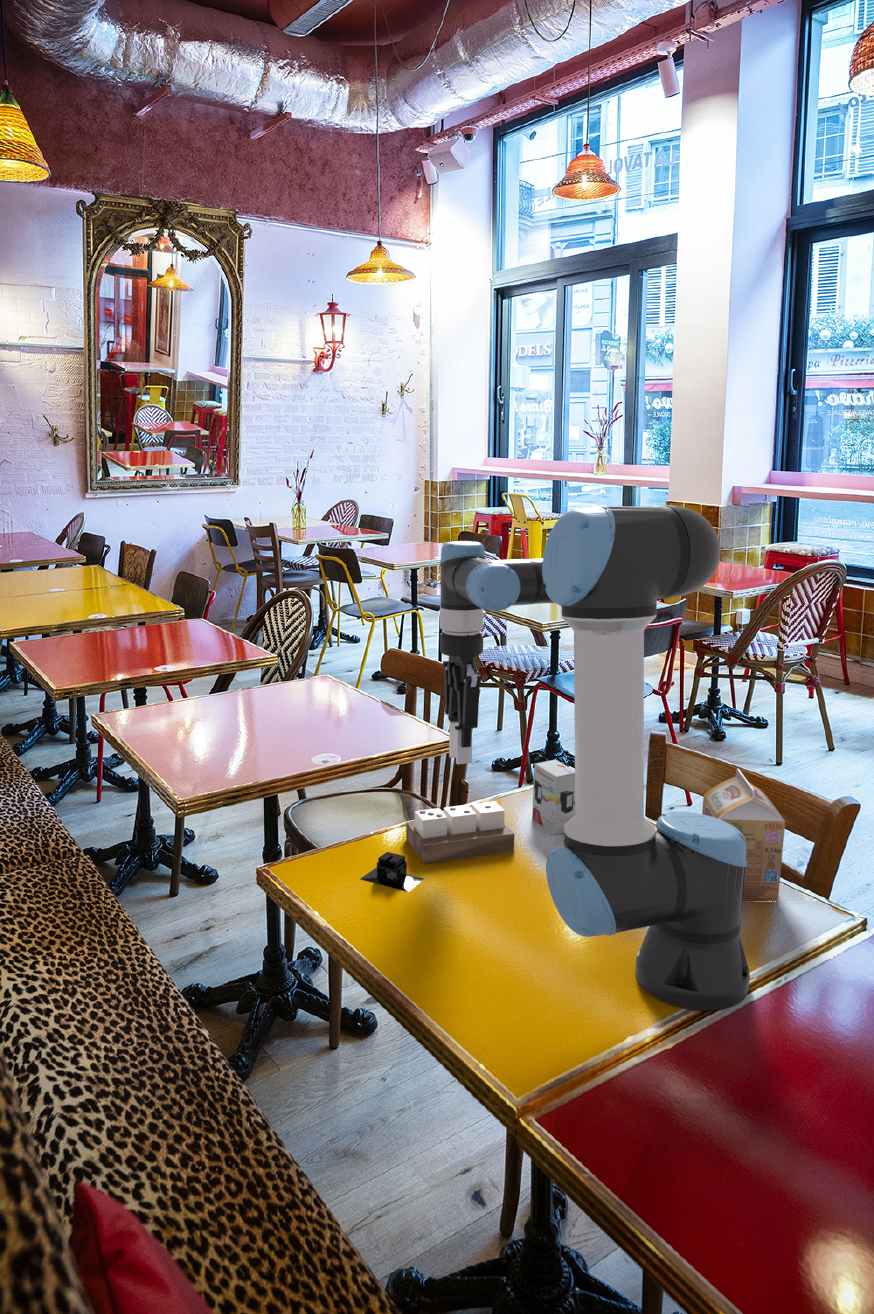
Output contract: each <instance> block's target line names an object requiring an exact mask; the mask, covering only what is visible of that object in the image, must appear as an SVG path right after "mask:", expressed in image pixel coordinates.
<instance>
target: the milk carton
mask: <svg viewBox="0 0 874 1314" xmlns="http://www.w3.org/2000/svg"><path fill="white" fill-rule="evenodd" d="M701 814H703V815H707V816H711V817H714V818H717V819H720V820H722V821H725V822H727V823H729V824H731V825H732V826H734V827H735V828H737V829H738V830H739V831H740V832H741V833H742V834H743V836H744V838H745V840H746V861H747V866H746V870H745V879H744V889H743V899H742V901H745V902H746V901H751V902H750V903H753V902H752V901H772V902H773V901H774V902H775V901H776V902H779V895H780V894H779V893H780V883H781V870H782V863H783V862H782V861H783V850H784V841H785V840H784V839H785V831H786V830H785V829H786V820H785V819H784V817H783V816H782V815H781V813H780V811H778V809H777V808H776V806H775V805H774V804H773V802H772V801H771V799H769V797H768V796H767V795H766V794H765V793H764V792H763V791H762V790H761V789H760V788H759V787H757V786H755V785H754V784H753V783H751V782H749V780H748V779H747V778H746V777H745V776H744V773H742V771H741V770H740V769H739V768H736V771H735V776H733V777H730V778H729V779H726V780H724V781H722V782H720V783H719V784H716V785H715V786H713V787H712V788H710V789H709V790H708V791H706V792H705V793H703V798H702V813H701ZM745 902H744V903H745ZM746 903H747V902H746Z"/></svg>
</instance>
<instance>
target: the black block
mask: <svg viewBox="0 0 874 1314" xmlns="http://www.w3.org/2000/svg"><path fill="white" fill-rule="evenodd" d="M407 864H408V862H407V861H406V856H405V855H403V854H398V853H394V852H389V851H386V852H385V853H383V854H382V855H380V856H379V857H378V860H377V862H376V867H375V868H373V869H372V870H370V871H369V872H368V873H366V874H365V875H363V876H362V877H361V878H359V880H361V881H364V882H369V883H372V884H376V885H380V886H383V887H387V888H390V889H391V888H392V889H395V890H399V891H403V892H406V893H409V892H410V891H412V890H413V889H414V888H415V887H417V885H419V884H420V883H421V882H422V881H424V878H422V877H420V876H416V875H410V874H408V872H407V871H408V865H407Z"/></svg>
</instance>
